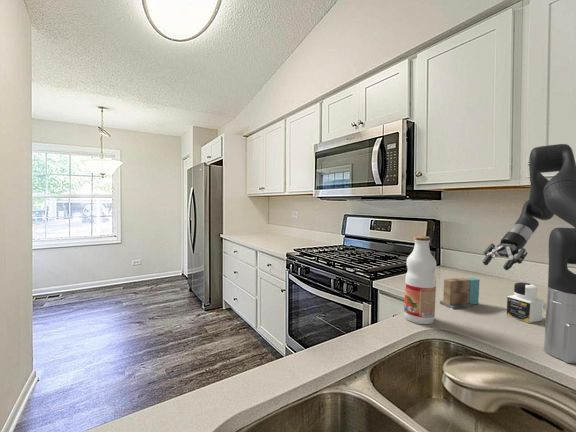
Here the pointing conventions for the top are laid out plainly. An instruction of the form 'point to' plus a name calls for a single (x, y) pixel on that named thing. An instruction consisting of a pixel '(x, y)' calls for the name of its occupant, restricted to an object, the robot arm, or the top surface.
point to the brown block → (456, 293)
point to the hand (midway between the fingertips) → (494, 266)
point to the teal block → (474, 290)
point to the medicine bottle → (525, 303)
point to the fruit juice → (420, 283)
